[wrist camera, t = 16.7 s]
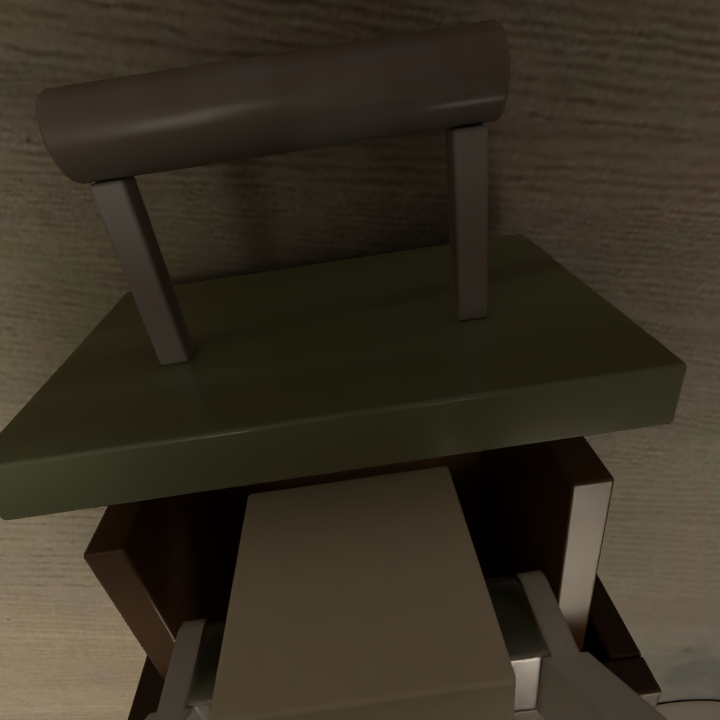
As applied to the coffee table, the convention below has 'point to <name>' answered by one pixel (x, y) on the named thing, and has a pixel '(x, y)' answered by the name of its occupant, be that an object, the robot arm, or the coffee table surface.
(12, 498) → the drawer
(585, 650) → the cabinet
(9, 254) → the coffee table surface
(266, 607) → the block
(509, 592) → the robot arm
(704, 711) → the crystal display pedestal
